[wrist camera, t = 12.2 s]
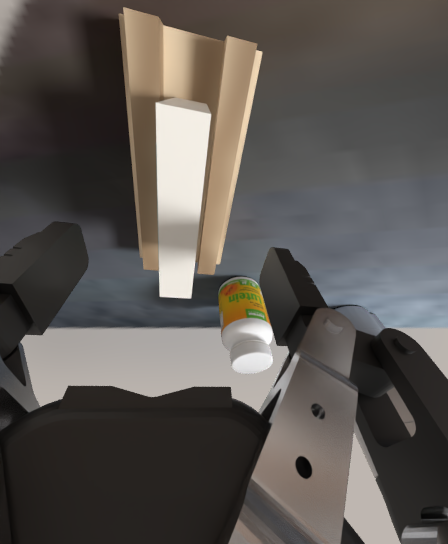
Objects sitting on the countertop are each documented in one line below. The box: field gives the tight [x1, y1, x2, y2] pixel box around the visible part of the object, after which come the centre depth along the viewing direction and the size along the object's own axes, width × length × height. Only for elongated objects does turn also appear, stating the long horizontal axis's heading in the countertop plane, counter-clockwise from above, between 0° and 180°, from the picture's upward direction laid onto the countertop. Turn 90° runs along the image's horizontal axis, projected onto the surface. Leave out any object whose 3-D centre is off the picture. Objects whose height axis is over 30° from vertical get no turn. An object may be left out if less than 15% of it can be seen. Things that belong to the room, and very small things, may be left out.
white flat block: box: [156, 97, 211, 299], centre depth 14 cm, size 2×10×8 cm, turn 170°
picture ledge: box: [119, 7, 262, 275], centre depth 17 cm, size 8×16×3 cm, turn 170°
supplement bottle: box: [218, 277, 273, 374], centre depth 24 cm, size 5×5×10 cm
